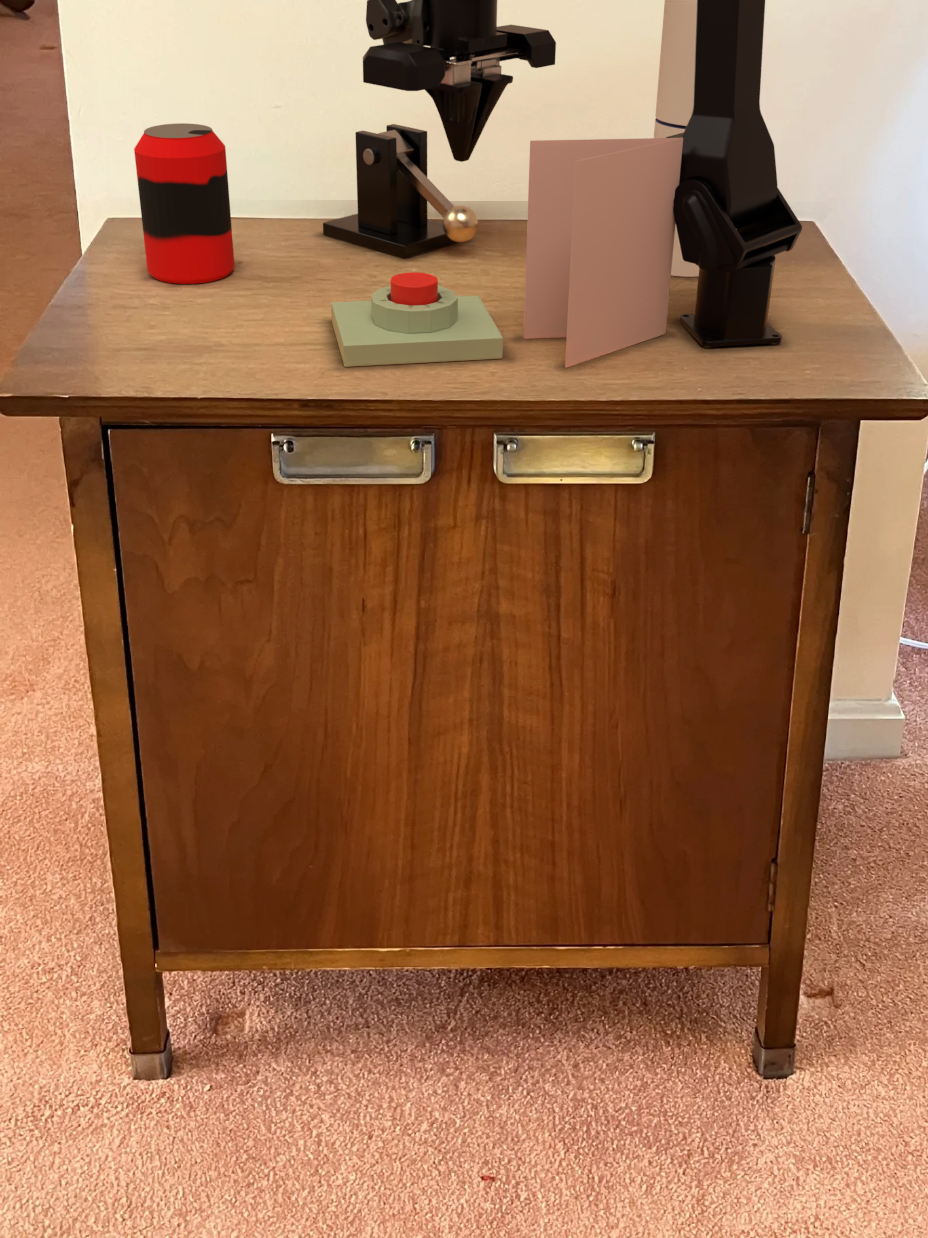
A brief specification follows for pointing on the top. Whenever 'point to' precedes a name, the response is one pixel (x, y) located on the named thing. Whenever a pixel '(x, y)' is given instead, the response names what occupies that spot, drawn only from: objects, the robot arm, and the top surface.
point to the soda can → (184, 203)
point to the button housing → (415, 330)
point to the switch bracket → (389, 199)
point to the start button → (414, 289)
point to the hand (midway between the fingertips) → (461, 160)
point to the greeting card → (600, 242)
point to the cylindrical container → (677, 90)
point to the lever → (435, 195)
